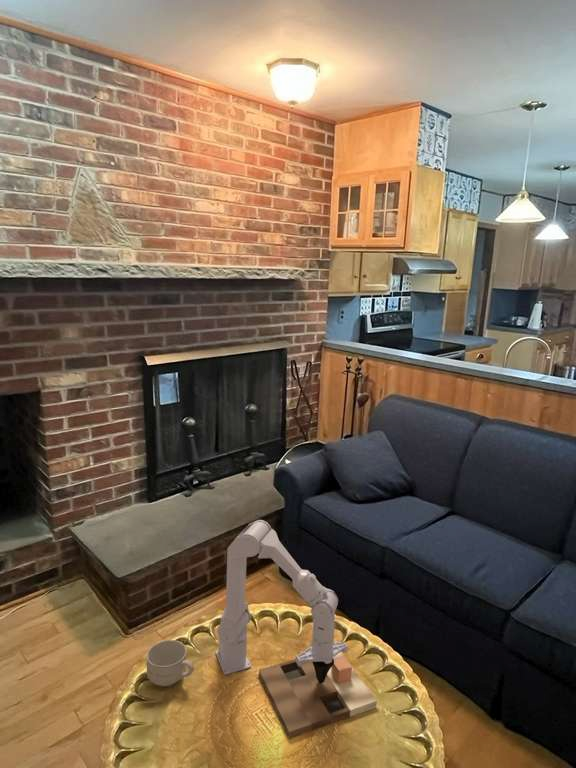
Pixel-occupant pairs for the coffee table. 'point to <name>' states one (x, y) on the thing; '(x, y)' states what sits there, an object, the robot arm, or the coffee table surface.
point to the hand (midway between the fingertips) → (320, 680)
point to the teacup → (167, 662)
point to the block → (341, 670)
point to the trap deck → (313, 696)
